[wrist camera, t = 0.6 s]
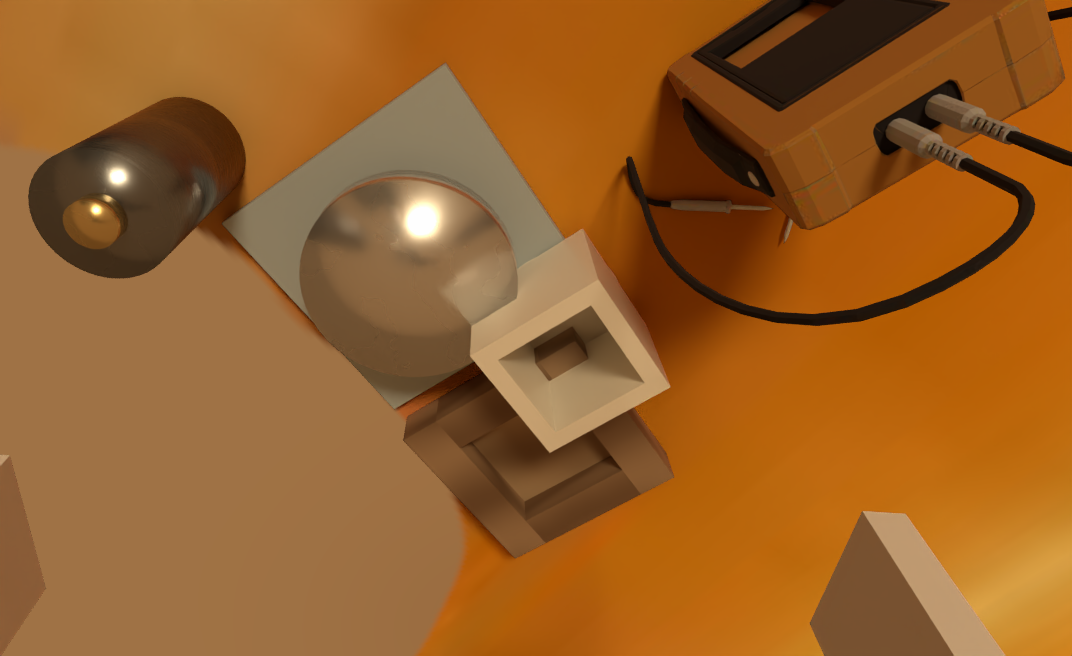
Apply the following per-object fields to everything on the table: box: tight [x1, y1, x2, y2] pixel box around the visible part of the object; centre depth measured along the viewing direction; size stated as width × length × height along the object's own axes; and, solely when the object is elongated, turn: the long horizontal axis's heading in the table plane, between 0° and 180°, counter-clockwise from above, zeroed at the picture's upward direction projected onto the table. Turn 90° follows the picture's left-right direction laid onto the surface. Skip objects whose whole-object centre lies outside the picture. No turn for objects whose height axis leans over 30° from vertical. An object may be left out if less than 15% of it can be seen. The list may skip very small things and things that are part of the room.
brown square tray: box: [403, 327, 674, 558], centre depth 38 cm, size 10×10×2 cm
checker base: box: [222, 63, 565, 409], centre depth 33 cm, size 12×12×1 cm
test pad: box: [299, 170, 518, 377], centre depth 31 cm, size 9×9×2 cm
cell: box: [28, 97, 246, 278], centre depth 27 cm, size 4×4×9 cm
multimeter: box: [626, 0, 1072, 326], centre depth 22 cm, size 15×10×20 cm
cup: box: [470, 229, 670, 453], centre depth 32 cm, size 6×6×6 cm
